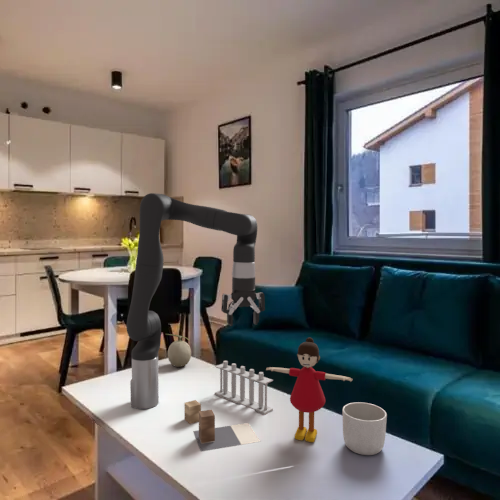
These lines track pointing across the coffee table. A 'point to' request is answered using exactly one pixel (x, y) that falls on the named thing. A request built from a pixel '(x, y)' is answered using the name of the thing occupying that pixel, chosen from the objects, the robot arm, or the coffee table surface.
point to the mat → (229, 437)
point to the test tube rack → (243, 387)
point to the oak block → (192, 411)
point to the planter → (364, 427)
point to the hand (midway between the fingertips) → (243, 324)
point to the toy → (307, 387)
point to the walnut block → (206, 426)
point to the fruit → (179, 352)
